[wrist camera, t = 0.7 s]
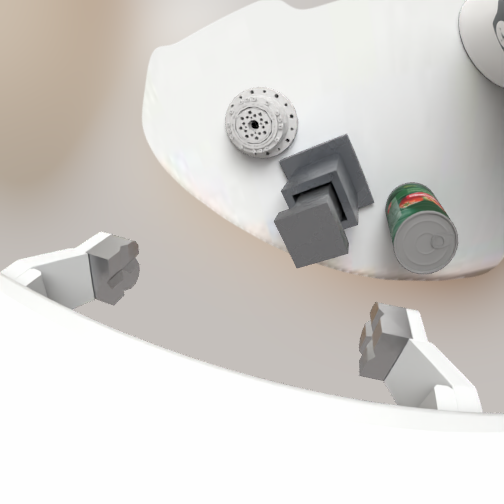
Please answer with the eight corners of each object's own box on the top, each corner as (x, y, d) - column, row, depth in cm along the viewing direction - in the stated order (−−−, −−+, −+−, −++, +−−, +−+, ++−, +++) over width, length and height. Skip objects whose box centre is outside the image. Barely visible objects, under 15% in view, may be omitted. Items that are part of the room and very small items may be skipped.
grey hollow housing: (346, 133, 38) (345, 149, 28) (373, 200, 42) (379, 238, 32) (280, 160, 43) (256, 185, 33) (309, 221, 46) (295, 263, 36)
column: (336, 158, 39) (327, 202, 25) (350, 192, 41) (347, 253, 27) (303, 171, 42) (273, 221, 28) (317, 204, 43) (296, 268, 29)
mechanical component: (305, 149, 41) (288, 80, 37) (300, 156, 38) (282, 79, 34) (238, 161, 45) (221, 97, 41) (227, 169, 41) (208, 98, 37)
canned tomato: (390, 238, 43) (398, 280, 34) (380, 188, 41) (387, 219, 31) (440, 228, 40) (459, 267, 31) (432, 177, 37) (455, 205, 28)
